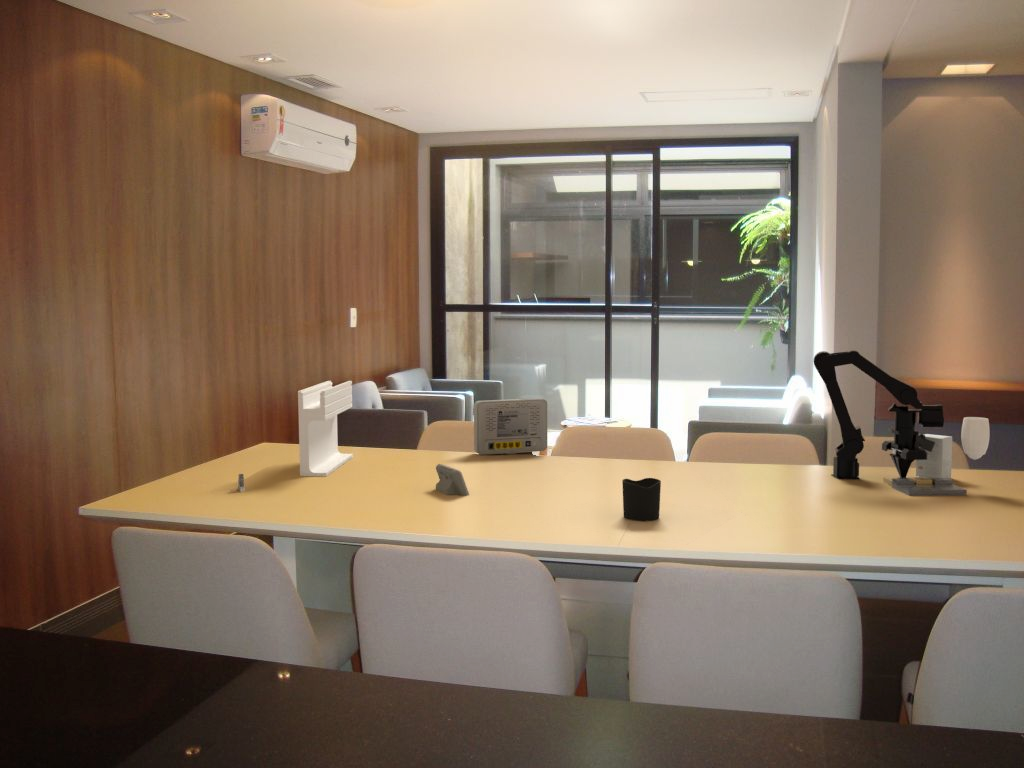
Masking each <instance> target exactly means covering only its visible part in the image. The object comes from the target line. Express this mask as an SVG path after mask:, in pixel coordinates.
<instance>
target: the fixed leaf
mask: <svg viewBox="0 0 1024 768" xmlns="http://www.w3.org/2000/svg"><path fill="white" fill-rule="evenodd" d="M891 478H892V486H891V488H893V489H894V490H895V491H899V492H900V493H903V494H905V495H907V496H957V497H958V496H959V497H960V496H967V491H968V490H967V489H966V488H963V487H961V486H958V485H956V484H954V483H953V482H954V481H953V480H954V479H952V478H950V479H949V478H930V479H931V480H932V484H916V485H914V480H912V479H910V478H908V477H906V478H900V477H891Z"/></svg>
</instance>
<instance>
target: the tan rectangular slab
mask: <svg viewBox="0 0 1024 768" xmlns="http://www.w3.org/2000/svg"><path fill="white" fill-rule="evenodd" d="M892 478H893V477H883V478H882V479H883V483H885V484H886V483H887V485H889V486H890V487H892ZM907 478H910V479H912V480H914V485H916V484H932V480H931V479H930V478H931V477H916V476H915V477H912V476H911V477H907Z"/></svg>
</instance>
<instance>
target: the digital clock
mask: <svg viewBox="0 0 1024 768" xmlns="http://www.w3.org/2000/svg"><path fill="white" fill-rule="evenodd" d="M435 470H436V473H437V475H438V479H439V480H438V482H436V483H435V491H436V492H439V493H442V494H444V495H446V496H451V495H460V496H463V497H465V496H470V492H469V490H468V487H467V485H466V481H465V479H464V476H463V473H462V472H461V470H460V469H458V468H454V467H451V466H449V465H446V464H442V463H441V464H440V463H437V464H436V466H435Z"/></svg>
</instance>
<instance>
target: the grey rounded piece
mask: <svg viewBox="0 0 1024 768" xmlns="http://www.w3.org/2000/svg"><path fill="white" fill-rule="evenodd" d="M989 420H990V419H989V418H986V417H982V416H981V417H980V416H966V417H963V419H962V425H961V434H960V438H961V439H960V440H961V446H962V450H963V453H964V455H965V454H966V456H967V457H968V458H969V459H971V460H978V459H981V457H982V456H983V455H984V456H985V455H986V453H987V450H988V448H989V443H990V438H991V437H990V434H991V433H990V432H991V431H990V422H989Z"/></svg>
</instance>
